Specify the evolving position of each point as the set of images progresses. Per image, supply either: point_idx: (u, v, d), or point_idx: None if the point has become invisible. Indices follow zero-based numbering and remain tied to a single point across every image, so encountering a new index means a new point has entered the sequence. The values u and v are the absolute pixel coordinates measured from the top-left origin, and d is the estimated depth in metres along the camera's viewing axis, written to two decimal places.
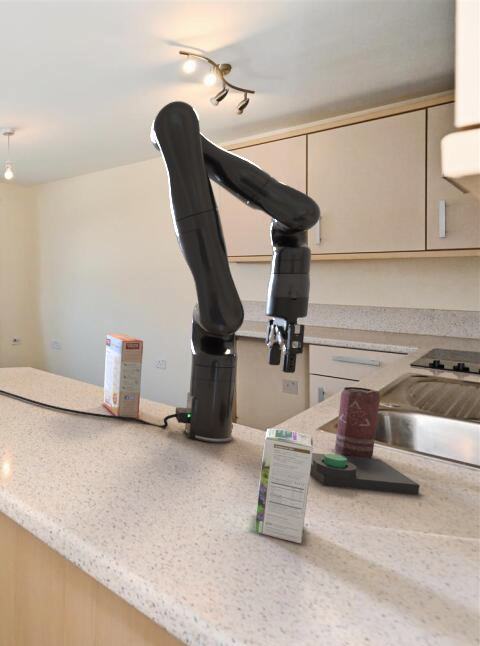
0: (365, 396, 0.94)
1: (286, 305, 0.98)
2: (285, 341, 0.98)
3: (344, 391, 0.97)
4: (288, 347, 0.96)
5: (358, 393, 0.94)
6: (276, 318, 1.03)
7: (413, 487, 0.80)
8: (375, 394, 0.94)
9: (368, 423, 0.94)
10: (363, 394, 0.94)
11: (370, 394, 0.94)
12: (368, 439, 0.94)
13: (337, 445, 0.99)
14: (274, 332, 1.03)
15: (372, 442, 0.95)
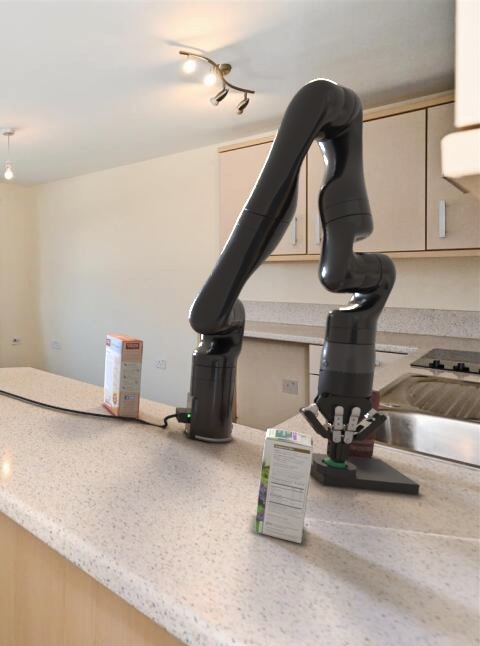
0: None
1: None
2: (327, 424, 0.85)
3: None
4: None
5: None
6: None
7: (413, 487, 0.80)
8: (375, 394, 0.94)
9: None
10: None
11: None
12: (368, 439, 0.94)
13: None
14: None
15: (372, 442, 0.95)
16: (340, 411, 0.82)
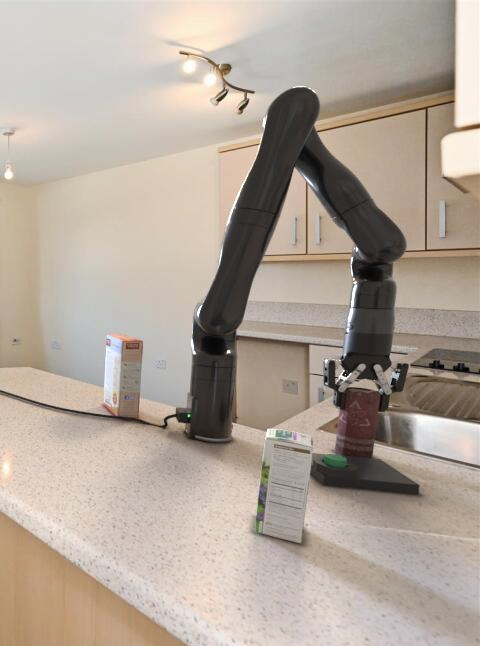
0: (365, 396, 0.94)
1: None
2: (340, 376, 0.98)
3: (344, 391, 0.97)
4: None
5: (358, 393, 0.94)
6: None
7: (413, 487, 0.80)
8: (375, 394, 0.94)
9: (368, 423, 0.94)
10: (363, 394, 0.94)
11: (370, 394, 0.94)
12: (368, 439, 0.94)
13: (337, 445, 0.99)
14: None
15: (372, 442, 0.95)
16: (361, 368, 0.94)
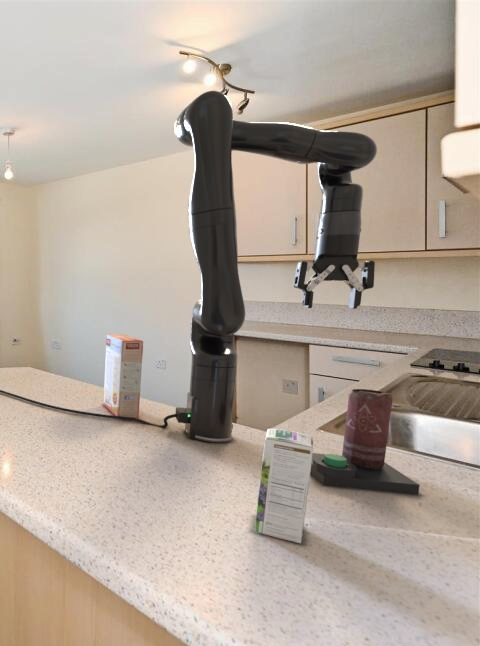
0: (376, 399, 0.84)
1: None
2: (311, 278, 1.05)
3: (352, 394, 0.87)
4: None
5: (368, 396, 0.85)
6: None
7: (413, 487, 0.80)
8: (387, 397, 0.84)
9: (379, 430, 0.84)
10: (374, 397, 0.84)
11: (382, 397, 0.84)
12: (379, 447, 0.85)
13: (344, 453, 0.89)
14: None
15: (384, 450, 0.85)
16: (331, 269, 1.02)
